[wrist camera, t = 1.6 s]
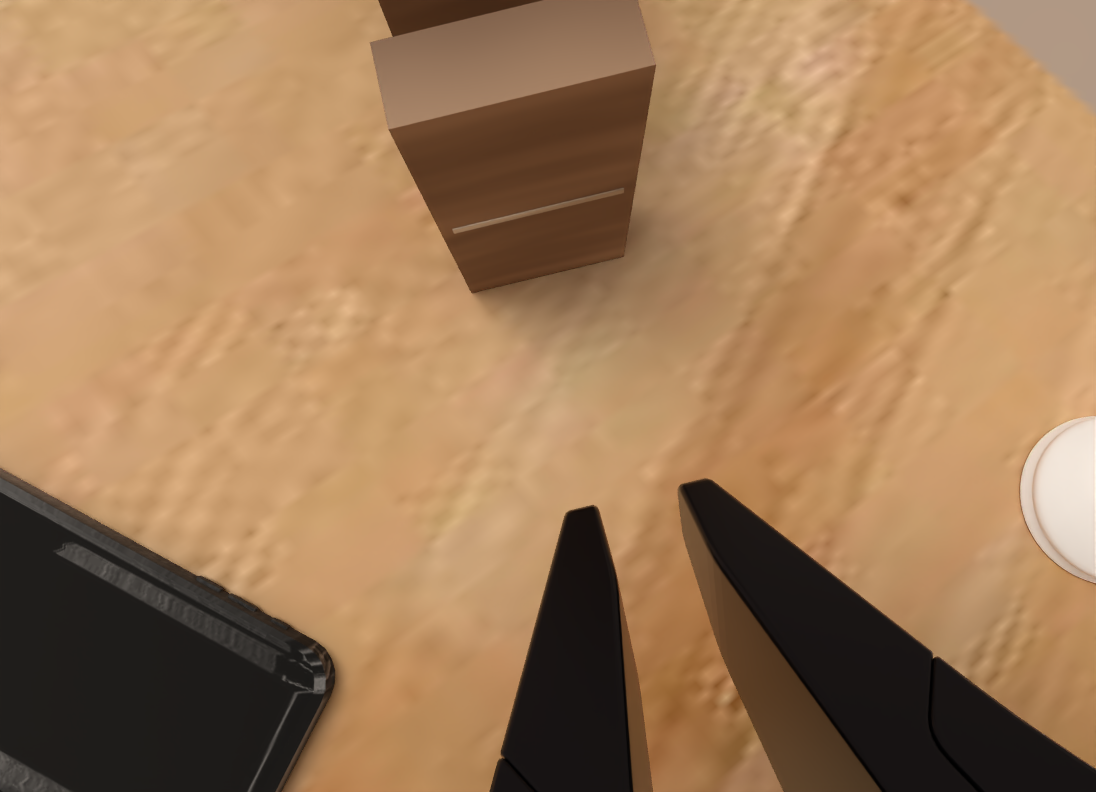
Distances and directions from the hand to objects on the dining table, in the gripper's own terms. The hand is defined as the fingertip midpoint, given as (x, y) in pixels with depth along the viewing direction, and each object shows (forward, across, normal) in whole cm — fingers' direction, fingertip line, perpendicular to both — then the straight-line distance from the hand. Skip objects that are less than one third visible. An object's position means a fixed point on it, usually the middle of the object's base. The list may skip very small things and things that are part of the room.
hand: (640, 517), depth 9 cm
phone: (+9, +17, +10) cm, 21 cm away
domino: (+15, 0, +3) cm, 15 cm away
